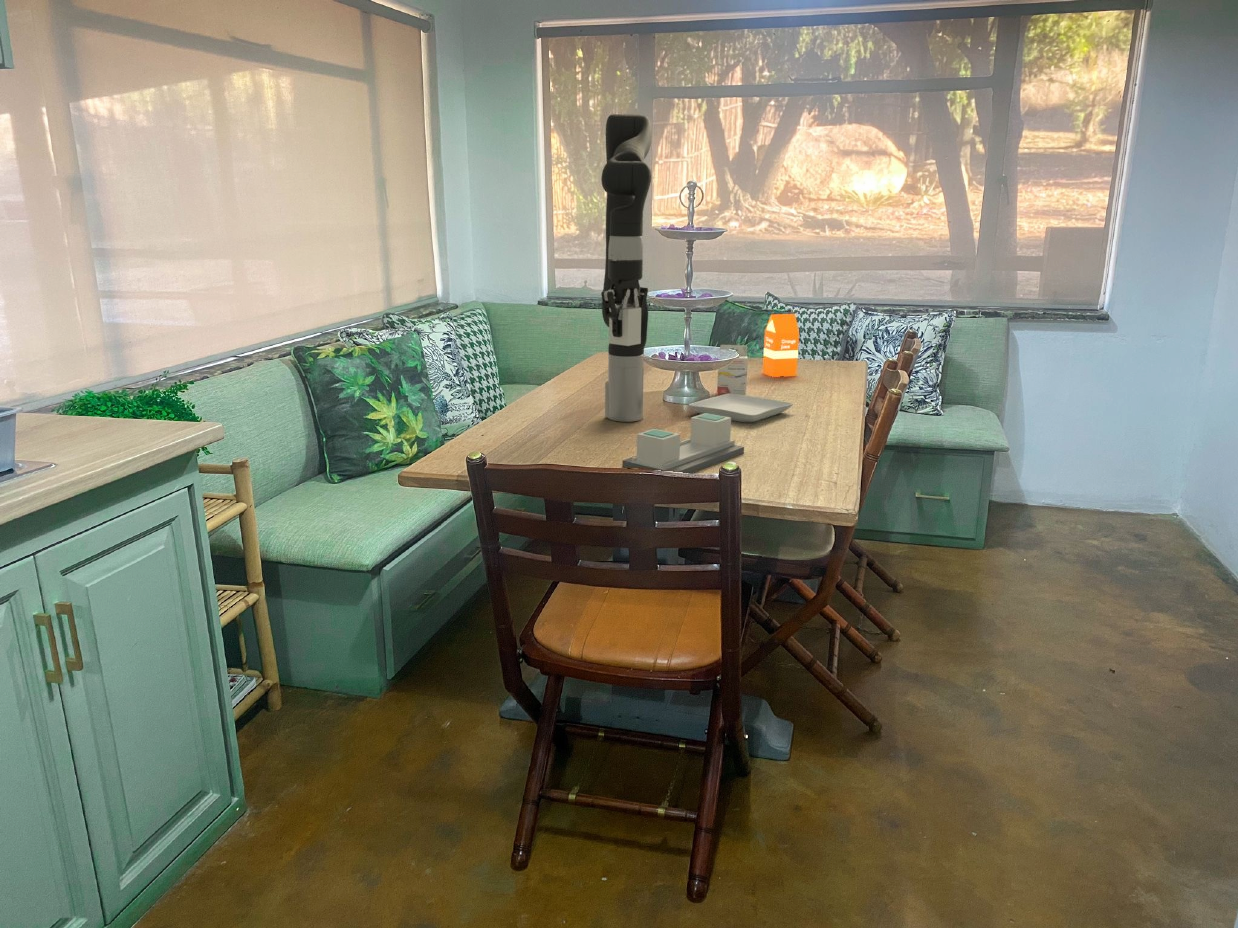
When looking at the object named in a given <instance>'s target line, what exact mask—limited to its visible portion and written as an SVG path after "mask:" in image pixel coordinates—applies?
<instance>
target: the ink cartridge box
mask: <svg viewBox="0 0 1238 928" xmlns="http://www.w3.org/2000/svg"><path fill="white" fill-rule="evenodd" d="M720 349H726V350H729V351H730V350H732V349H735V350H733V351H734V352H737V353H738V354H739V358H736V360H734V361H733V362H732V363H731V364H729V365H728V366H726V367H724V368H722V369H719V370H718V369H717V389H716V393H717V394H716V395H717V396H720V395H724V394H729V393H731V394H738V395H746V396H747V382H748V381H747V379H748V362H749V361H748V359H749V357H748V353H747V352H748V346H747V344H746V345H741V344H740V345H738V344H720V346H719V350H720Z"/></svg>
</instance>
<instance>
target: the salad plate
mask: <svg viewBox="0 0 1238 928" xmlns="http://www.w3.org/2000/svg"><path fill="white" fill-rule="evenodd" d="M792 406H793V402H788V401H782V400H776V399H771V398H766V397H760V396H759V397H758V396H752V395H747V394H746V395H738V394H731V393H729V394H724V395H720V396H713V397H709V398H706V399H702V400H701V399H700V400H698V401H695V402H692V403H689V404H688V407H689V408H690V409H691V410H693V411H694V412H696V413H698V414H700V415H701V414H705V413H708V414H714V415H719V416H725V417H730V418H731V421H733V422H740V423H741V422H742V423H755V422H758V421H761V419H762V420H764V419H767V418H770V416H771V417H773V416H776V415H778V414H781V413H784V412H786V411H787V410H789V409H790V408H792Z"/></svg>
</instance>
